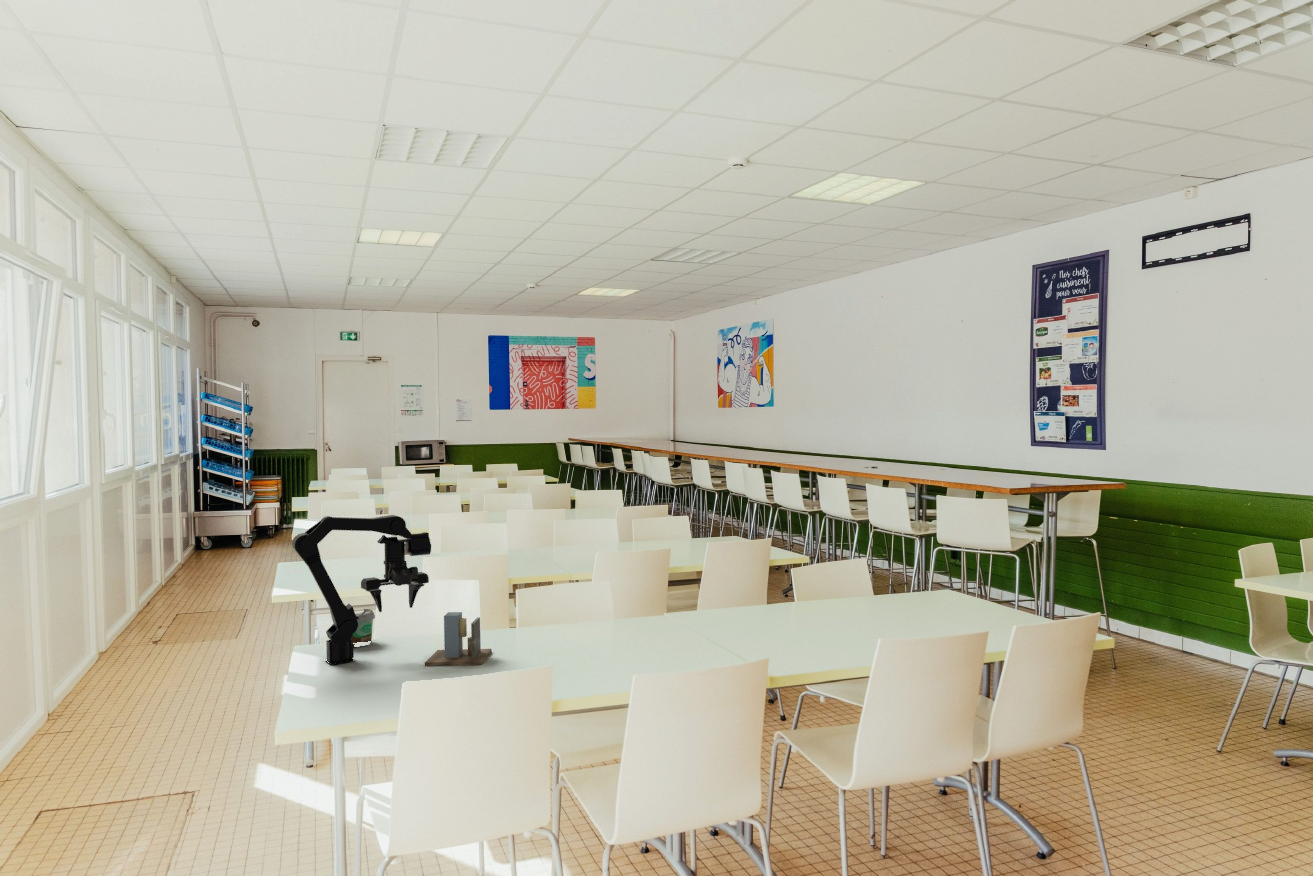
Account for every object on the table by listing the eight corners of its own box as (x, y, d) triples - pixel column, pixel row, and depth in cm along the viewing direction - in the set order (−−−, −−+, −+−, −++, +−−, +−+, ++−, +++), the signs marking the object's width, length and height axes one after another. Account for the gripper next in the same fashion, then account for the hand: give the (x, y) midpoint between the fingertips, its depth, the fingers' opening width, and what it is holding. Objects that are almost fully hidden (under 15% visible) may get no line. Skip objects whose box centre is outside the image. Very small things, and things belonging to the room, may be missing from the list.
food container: (361, 650, 250) (361, 617, 250) (343, 649, 251) (342, 616, 251) (383, 640, 262) (382, 609, 262) (365, 639, 263) (365, 608, 263)
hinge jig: (424, 666, 229) (423, 626, 230) (437, 653, 243) (437, 616, 244) (481, 664, 230) (480, 625, 230) (491, 652, 244) (490, 615, 244)
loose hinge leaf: (444, 658, 234) (443, 615, 234) (449, 653, 239) (448, 612, 239) (465, 657, 234) (464, 615, 234) (468, 653, 239) (468, 612, 239)
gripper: (372, 563, 233) (373, 618, 232) (435, 557, 244) (436, 609, 244) (359, 559, 241) (360, 612, 241) (421, 553, 253) (422, 604, 253)
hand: (395, 609), depth 245 cm, fingers open, 9 cm apart
